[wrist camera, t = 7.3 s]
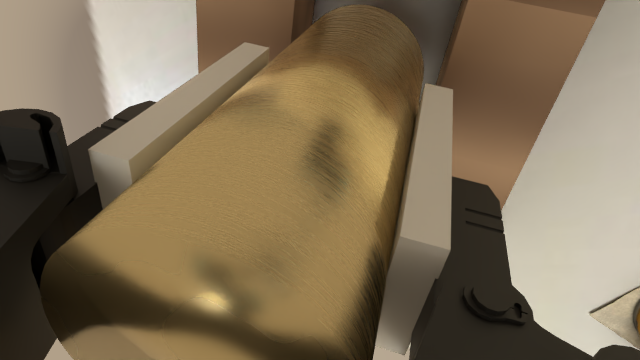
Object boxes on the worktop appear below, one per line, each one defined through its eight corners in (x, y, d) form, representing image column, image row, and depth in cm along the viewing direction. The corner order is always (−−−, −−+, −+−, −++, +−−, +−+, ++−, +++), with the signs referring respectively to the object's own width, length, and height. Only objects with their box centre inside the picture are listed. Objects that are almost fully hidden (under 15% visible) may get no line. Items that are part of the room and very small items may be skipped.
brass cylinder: (305, -8, 14) (-5, 185, 5) (441, 19, 14) (405, 309, 4) (292, 114, 17) (76, 397, 7) (405, 142, 16) (332, 492, 7)
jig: (230, -157, 16) (134, -180, 11) (618, -95, 14) (701, -91, 9) (227, 167, 25) (172, 233, 20) (468, 233, 23) (471, 323, 18)
